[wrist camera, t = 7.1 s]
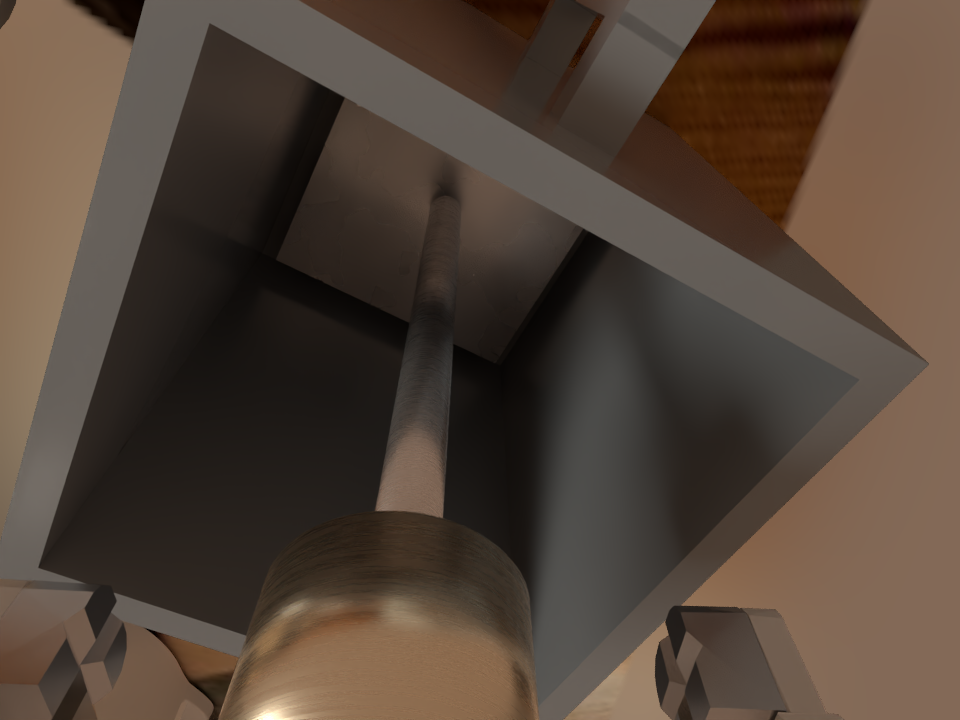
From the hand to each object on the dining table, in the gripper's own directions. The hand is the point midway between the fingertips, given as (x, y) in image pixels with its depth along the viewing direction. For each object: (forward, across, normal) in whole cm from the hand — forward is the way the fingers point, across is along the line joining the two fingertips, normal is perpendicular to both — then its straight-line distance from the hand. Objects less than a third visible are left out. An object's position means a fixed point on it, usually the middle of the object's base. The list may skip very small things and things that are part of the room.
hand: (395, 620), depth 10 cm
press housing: (+21, -1, -1) cm, 21 cm away
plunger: (+20, 0, 0) cm, 20 cm away
